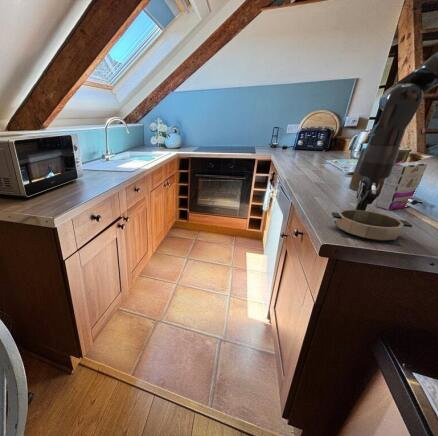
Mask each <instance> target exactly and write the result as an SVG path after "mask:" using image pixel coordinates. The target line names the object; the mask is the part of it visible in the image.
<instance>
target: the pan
mask: <svg viewBox="0 0 438 436" xmlns="http://www.w3.org/2000/svg"><path fill="white" fill-rule="evenodd" d="M331 216H332V218H334V219H336V220H335V221H336V224H335V226H336V225H337V226H336V227H338V228H339V229H340V230H342V231H344V232H346V233H348V234H350V235H354V236H357V237H361V238H365V239H370V240H377V241H391V240H395V239H396V240H397V239H398V238H399V237H400V235H401V232H402V230H403V229H404V228H405V227H406V228H413V225H412V224H411V222H409V221H408V220H403V219H398V218H395V217H393V216H390V215H388V214H386V213H385V214H384V213H380V212H375V211H371V210H365V211H364V210H355V209H342V210H341V211H339V212H334V211H332V212H331ZM338 228H337V229H338Z"/></svg>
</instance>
